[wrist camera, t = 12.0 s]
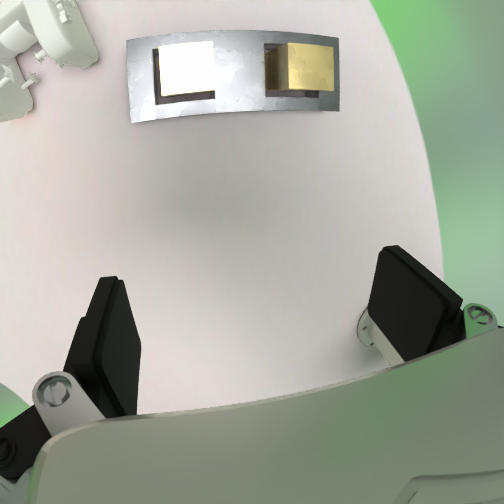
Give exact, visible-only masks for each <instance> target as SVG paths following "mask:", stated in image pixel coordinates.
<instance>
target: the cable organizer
mask: <svg viewBox="0 0 504 504" xmlns="http://www.w3.org/2000/svg"><path fill="white" fill-rule="evenodd" d="M36 42H39V43H40V45H41V47H42V48H43V49H42V50H41V51H38V52H35V51H34V50H32V51H33V53H34V57H33V58H35V59H37V60H38V61H39V62H40V63H41V65H42V61H41V60H44V59H43V57H44V56H46V55H48V56H49V57H50V58H51V59H52V60H54V61H56V63H57V64H59V65H60V66H61V68H62V65H64V64H68V65H71V66H75V67H78V68H82V69H85V68H87V67H88V66H90V65H91V64H93V63H95V62H96V61H98V60H99V56H98V51H97V48H96V46H95V43H94V41H93V39H92V37H91V35H90V33H89V31H88V28H87V26H86V24H85V22H84V20H83V18H82V15H81V13H80V11H79V9H78V7H77V4H76V2H75V0H3V1H2V2H1V3H0V122H4V121H9V120H13V119H18V118H22V117H23V116H24V115H26V114H27V113H28V112H29V111H30V110H31V109H32V108H33V101H32V97H31V94H30V92H29V89H28V87H29V86H30V85H31V84H32V83H34V82H36V83H37V84H38V81H41V80H40V79H39V78H37V76H36V73H34V74H32V73H30V72H29V73H30V74H31V76H32V77H30V78H29V79H28V80H27V81H26V82H25V80H24V78H23V76H22V74H21V71H20V69H19V66H18V64H17V62H16V59H15V56H16V55H18V54H19V53H22V52H25V51H26V50H27V49H29V48H30V47H31V46H32V45H34V44H35V43H36ZM63 63H64V64H63Z"/></svg>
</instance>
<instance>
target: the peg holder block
mask: <svg viewBox="0 0 504 504" xmlns="http://www.w3.org/2000/svg"><path fill="white" fill-rule="evenodd" d="M209 41H212V43H213V61H214V78H215V90H213V91H211V99H209V100H197V101H187V102H178V103H169V104H162V105H158V102H157V87H156V67H155V55H157V54H159V47H161V46H168V45H176V44H185V43H196V42H209ZM126 44H127V72H128V89H129V103H130V115H131V123H135V122H141V121H148V120H155V119H162V118H170V117H178V116H187V115H197V114H208V113H220V112H236V111H260V110H316V111H339V101H340V80H339V38H335V37H329V36H321V35H313V34H304V33H293V32H280V31H258V30H220V31H199V32H185V33H175V34H165V35H157V36H150V37H143V38H137V39H131V40H126ZM264 49H273V50H271V51H268V52H266V53H264ZM265 91H305V97H265Z"/></svg>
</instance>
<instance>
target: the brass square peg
mask: <svg viewBox="0 0 504 504" xmlns="http://www.w3.org/2000/svg"><path fill="white" fill-rule="evenodd" d="M159 60H160V76H161V89H162V96H164V97H172V96H180V95H188V94H198V93H207V92H210V91H213V90H215V78H214V61H213V43H212V41H209V42H196V43H185V44H176V45H168V46H161V47H159Z"/></svg>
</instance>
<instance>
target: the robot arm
mask: <svg viewBox="0 0 504 504" xmlns="http://www.w3.org/2000/svg"><path fill="white" fill-rule="evenodd" d="M462 301H463V299H462V298H461V297H460V296H459V295H457V294H456V293H455V292H454V291H453V290H452V289H451V288H449V287H448V286H447V285H446V284H445V283H444V282H443V281H441V280H440V279H439V278H438V277H437V276H435V275H434V274H433V273H432V272H431V271H429V270H428V269H427V268H426V267H425V266H423V265H422V264H421V263H420V262H419V261H417V260H416V259H415V258H414V257H412V256H411V255H410V254H409V253H407V252H406V251H405V250H404V249H402V248H401V247H400V246H398V245H393V246H385V247H383V249H382V251H380V252H379V255H378V260H377V266H376V271H375V276H374V280H373V285H372V290H371V294H370V299H369V303H368V308H367V309H366V311H365V312H364V314H363V315H362V317H361V319H360V322H359V325H358V331H357V333H358V337H359V339H360V341H361V342H362V343H363V344H364V345H365V346H368V347H377V349H378V350H379V352H380V353H381V354H382V356H383V357H384V358H385V360H386V361H387V363H388V364H389V365H390V367H389V368H386V369H383V370H380V371H377V372H374V373H370V374H367V375H364V376H360V377H357V378H353V379H350V380H346V381H343V382H339V383H335V384H331V385H327V386H323V387H319V388H315V389H311V390H306V391H302V392H297V393H293V394H288V395H283V396H279V397H273V398H268V399H263V400H257V401H251V402H245V403H239V404H232V405H225V406H218V407H210V408H202V409H194V410H185V411H176V412H165V413H152V414H142V415H137V397H138V382H139V369H140V357H141V342H140V338H139V335H138V331H137V328H136V325H135V321H134V318H133V314H132V311H131V307H130V304H129V300H128V296H127V292H126V288H125V284H124V281H123V280H118V278H117V276H110V277H101V278H100V279H99V282H98V284H97V287H96V289H95V292H94V294H93V297H92V300H91V302H90V305H89V308H88V310H87V313H86V316H85V317H82V318H81V319H80V321H79V324H78V326H77V329H76V332H75V335H74V338H73V341H72V344H71V347H70V350H69V353H68V356H67V359H66V362H65V366H64V369H63V372H62V371H56V372H51V373H49V374H46V375H44V376H43V377H42V378H40V379H39V380H38V382H37V383H36V384H35V386H34V388H33V391H32V399H33V402H34V405H33V406H31V407H30V408H28V409H27V410H25V411H24V412H23V413H21V414H20V415H18V416H17V417H15V418H14V419H13V420H11V421H10V422H8V423H7V424H5V425H4V426H3V427H1V428H0V504H504V327H502V326H498V324H497V320H496V317H495V315H494V314H493V312H492V311H491V310H490V309H488V308H487V307H485V306H483V305H480V304H476V303H471V304H467V305H466V306H465V307H464V309H463V311H462V310H461V309H460V307H461V304H462Z"/></svg>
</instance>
